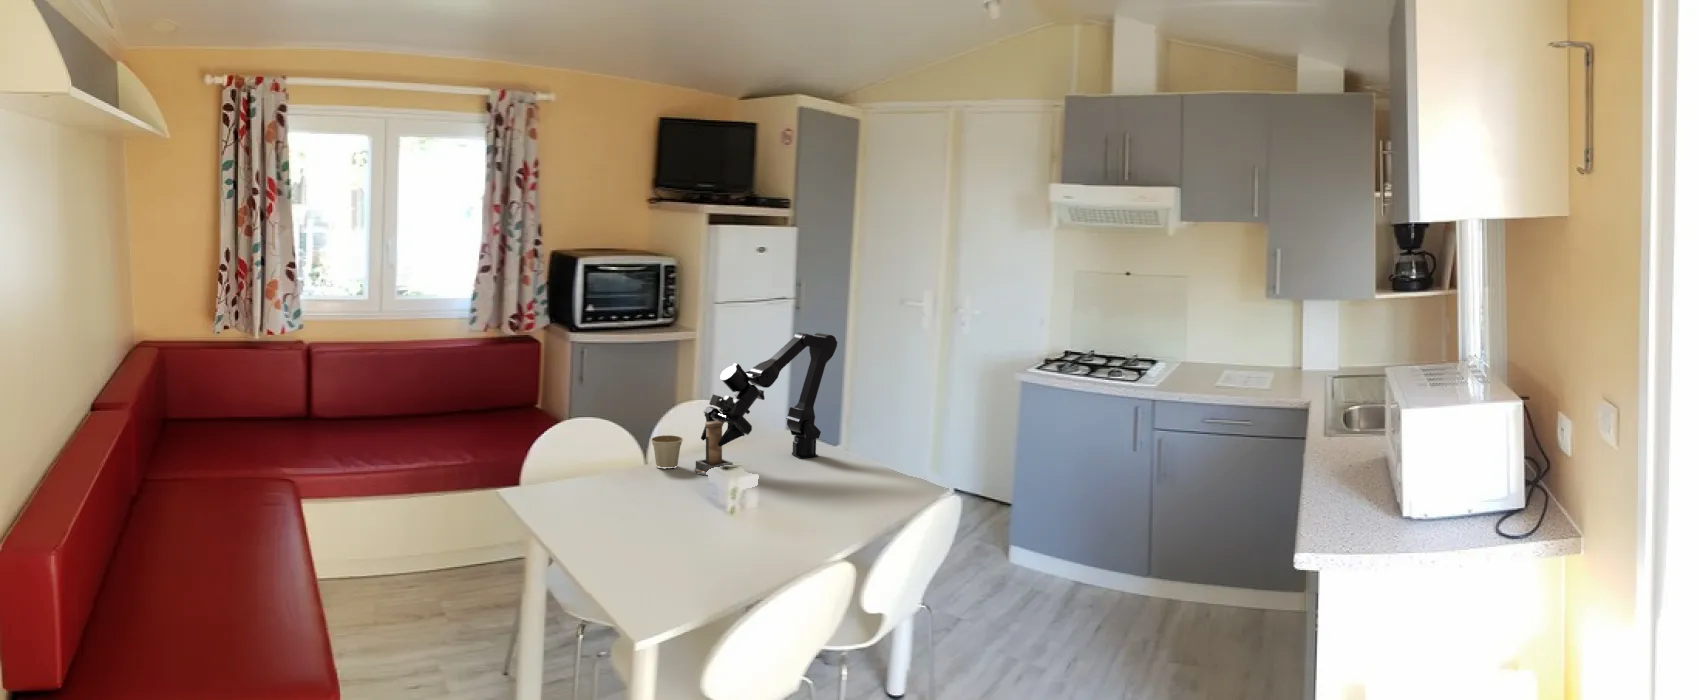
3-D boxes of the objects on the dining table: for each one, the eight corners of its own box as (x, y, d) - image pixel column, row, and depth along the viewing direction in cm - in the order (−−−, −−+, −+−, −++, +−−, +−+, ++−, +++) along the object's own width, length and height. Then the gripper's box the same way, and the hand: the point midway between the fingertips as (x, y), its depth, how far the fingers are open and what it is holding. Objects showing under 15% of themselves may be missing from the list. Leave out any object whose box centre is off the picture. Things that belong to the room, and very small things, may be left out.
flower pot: (679, 471, 300) (679, 442, 299) (647, 470, 300) (647, 441, 299) (685, 463, 310) (685, 435, 308) (654, 462, 310) (654, 434, 309)
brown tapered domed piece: (717, 465, 306) (716, 420, 304) (726, 469, 302) (726, 423, 300) (701, 468, 302) (701, 422, 300) (711, 471, 298) (711, 425, 296)
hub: (720, 464, 310) (720, 455, 310) (741, 472, 301) (741, 463, 301) (686, 469, 303) (686, 460, 302) (707, 478, 294) (707, 468, 294)
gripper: (709, 379, 308) (676, 420, 303) (743, 389, 294) (710, 431, 288) (731, 402, 314) (699, 442, 309) (766, 413, 300) (733, 455, 294)
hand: (710, 442), depth 300 cm, fingers open, 9 cm apart
